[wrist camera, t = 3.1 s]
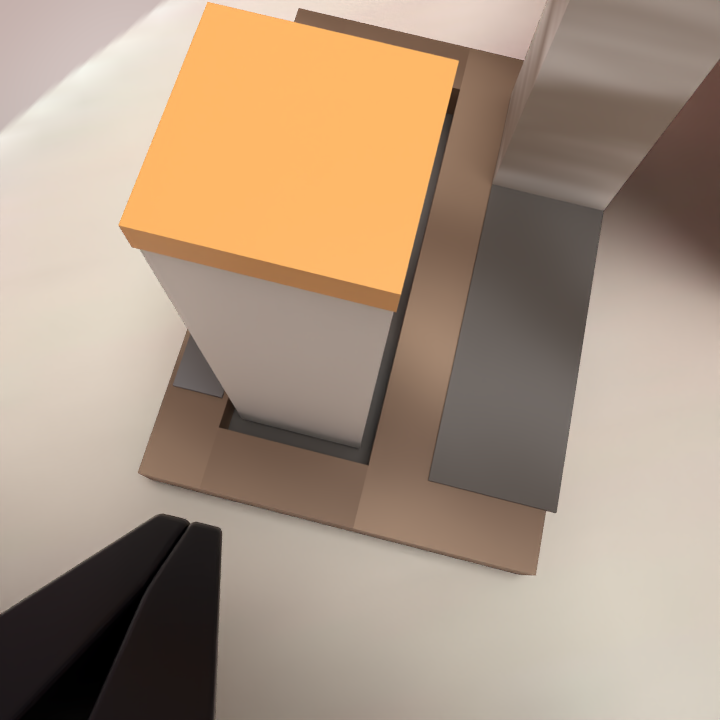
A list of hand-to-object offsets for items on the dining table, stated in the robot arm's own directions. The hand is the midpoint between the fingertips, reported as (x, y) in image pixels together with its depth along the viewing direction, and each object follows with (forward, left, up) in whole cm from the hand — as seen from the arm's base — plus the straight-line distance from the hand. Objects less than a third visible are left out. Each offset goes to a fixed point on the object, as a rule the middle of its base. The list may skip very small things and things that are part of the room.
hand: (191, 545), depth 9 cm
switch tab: (+4, +3, -11) cm, 12 cm away
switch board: (+8, +5, -11) cm, 14 cm away
